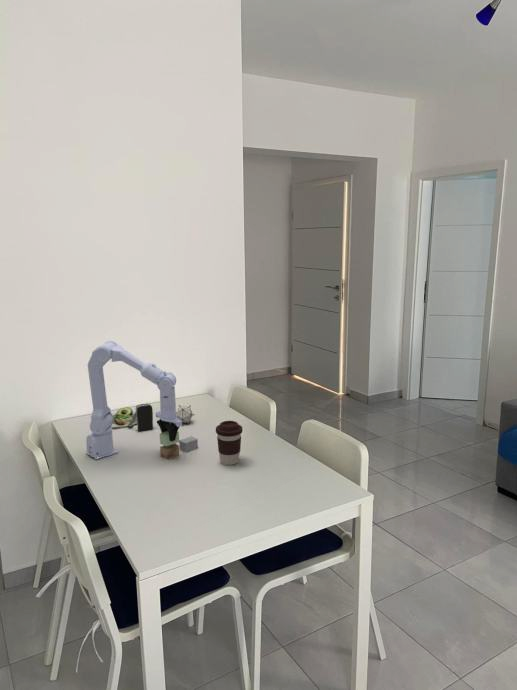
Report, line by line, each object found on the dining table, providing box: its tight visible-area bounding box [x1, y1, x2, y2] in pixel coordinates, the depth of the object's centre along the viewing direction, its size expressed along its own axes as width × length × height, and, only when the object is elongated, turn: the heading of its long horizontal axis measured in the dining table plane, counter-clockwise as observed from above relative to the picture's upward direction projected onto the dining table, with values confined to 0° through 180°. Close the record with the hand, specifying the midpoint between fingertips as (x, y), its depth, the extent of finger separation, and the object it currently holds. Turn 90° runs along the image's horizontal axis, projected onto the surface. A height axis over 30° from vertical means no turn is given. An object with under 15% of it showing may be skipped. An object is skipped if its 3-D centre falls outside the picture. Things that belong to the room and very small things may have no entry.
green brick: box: [159, 431, 180, 446], centre depth 202 cm, size 6×4×4 cm, turn 135°
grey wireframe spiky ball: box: [176, 404, 195, 425], centre depth 237 cm, size 9×8×10 cm
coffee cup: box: [215, 420, 243, 466], centre depth 197 cm, size 10×10×15 cm
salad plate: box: [111, 406, 137, 429], centre depth 238 cm, size 19×18×5 cm
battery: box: [135, 403, 154, 432], centre depth 229 cm, size 7×4×11 cm, turn 115°
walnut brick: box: [159, 443, 180, 460], centre depth 203 cm, size 6×4×4 cm, turn 135°
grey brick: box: [178, 435, 199, 453], centre depth 210 cm, size 6×4×4 cm, turn 135°
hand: (169, 439), depth 202 cm, fingers closed on green brick, 4 cm apart
